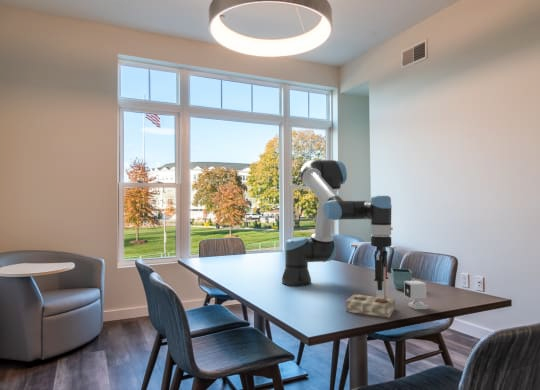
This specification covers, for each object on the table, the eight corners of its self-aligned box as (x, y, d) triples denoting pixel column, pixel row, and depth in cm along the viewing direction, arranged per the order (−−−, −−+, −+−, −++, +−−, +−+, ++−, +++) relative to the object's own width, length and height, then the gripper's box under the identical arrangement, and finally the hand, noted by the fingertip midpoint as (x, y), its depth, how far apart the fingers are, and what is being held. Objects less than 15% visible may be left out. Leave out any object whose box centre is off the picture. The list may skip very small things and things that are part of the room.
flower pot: (412, 291, 173) (412, 272, 173) (393, 290, 175) (393, 271, 175) (409, 287, 181) (409, 269, 182) (390, 286, 183) (390, 268, 183)
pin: (376, 304, 139) (376, 267, 139) (377, 302, 142) (377, 266, 142) (384, 305, 138) (384, 268, 138) (386, 303, 140) (386, 266, 141)
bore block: (346, 311, 140) (346, 300, 140) (354, 303, 151) (354, 294, 151) (389, 317, 132) (389, 306, 133) (394, 309, 143) (394, 298, 143)
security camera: (404, 305, 149) (403, 280, 149) (420, 304, 149) (420, 280, 150) (411, 309, 143) (411, 284, 143) (428, 309, 143) (428, 283, 143)
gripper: (387, 237, 131) (387, 303, 131) (394, 234, 146) (395, 293, 145) (366, 237, 135) (366, 301, 134) (375, 233, 149) (375, 291, 149)
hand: (381, 297), depth 140 cm, fingers closed on pin, 3 cm apart
